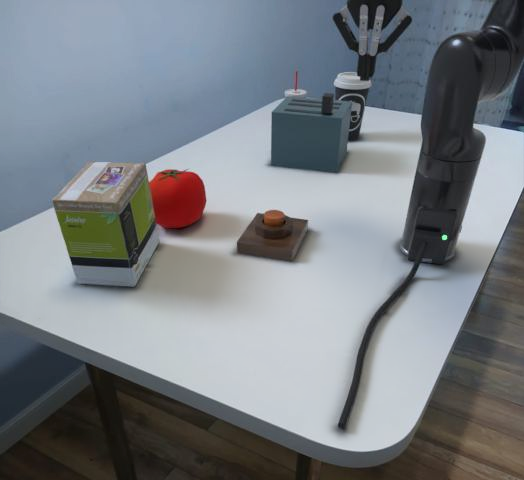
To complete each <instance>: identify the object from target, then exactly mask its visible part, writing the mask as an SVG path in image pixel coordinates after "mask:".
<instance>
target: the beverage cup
mask: <svg viewBox="0 0 524 480" xmlns="http://www.w3.org/2000/svg"><path fill="white" fill-rule="evenodd" d="M298 72H299V71H298V70H295V78H294V79H295V80H294V81H295V82H294V88H291V89H286V90H285V91H284V96H285V98H286V97H287V96H291V97H303V98H307V94H308V91H307V90H305V89H299V88H298V74H299V73H298Z"/></svg>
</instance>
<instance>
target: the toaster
mask: <svg viewBox="0 0 524 480" xmlns="http://www.w3.org/2000/svg"><path fill="white" fill-rule="evenodd" d="M351 108H352V102H351V101H339V100H335V99H333V109H332V112H331V113H330V114H323V113H321V109H322V98H313V97H305V98H303V97H291V96H287V97H286V96H285V98H284V99H283V100H282V101H281V102H280V103H279V104H278V105H277V106H276V107H275V108H274V109H272V111H271V127H270V129H271V130H270V131H271V132H270V133H271V134H270V137H271V138H270V146H271V147H270V166H274V167H282V168H283V167H284V168H292V169H300V170H308V171H309V170H310V171H319V172H326V173H327V172H328V173H336V174H337V173H338V170H339V168H340V167H341V165H342V162H343V161H344V158H345V156H346V155H347V153H348V143H349V141H348V135H349V126H350V117H351Z"/></svg>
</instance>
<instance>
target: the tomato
mask: <svg viewBox="0 0 524 480" xmlns="http://www.w3.org/2000/svg"><path fill="white" fill-rule="evenodd" d="M188 170H189V168H187V169H184V170H179V169H173V168H172V169H169V168H168V169H167V168H166V169H164V170H162V171H157V172H156V174H155V175H154V176H153V178H152V179H151V180H150V181H149V186H150V191H151V197H152V202H153V208H154V214H155V219H156V225H158V226H160V227H162V228H166V229H167V228H168V229H170V228H172V229H180V228H181V229H182V228H184V227H188V226H190V225H192V224H194V223H195V222H197V221H198V220H199V219H200V218H201V217H202V215H203V213H204V212H205V208H206V205H207V193H206V186H205V184H204V180H203V179H202V178H201V176H200V175H199V174H198V173H196V172H194V171H188Z"/></svg>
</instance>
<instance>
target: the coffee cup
mask: <svg viewBox="0 0 524 480" xmlns="http://www.w3.org/2000/svg"><path fill="white" fill-rule="evenodd" d="M333 86H334V87H335V88H334V91H335V92H334V93H335V94H334V100H339V101H351V102H352V108H351V117H350V126H349V135H348V142H354V141H357V140H358V139H359V138H360V135H361V129H362V123H363V119H364V114H365V109H366V104H367V99H368V95H369V90H370V88H371V87H372V81H371V80H370V79H369V81H360V77H358V76H357V71H345V72H340V73H338V74H337V76H336V78H335V79H334V82H333Z"/></svg>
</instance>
